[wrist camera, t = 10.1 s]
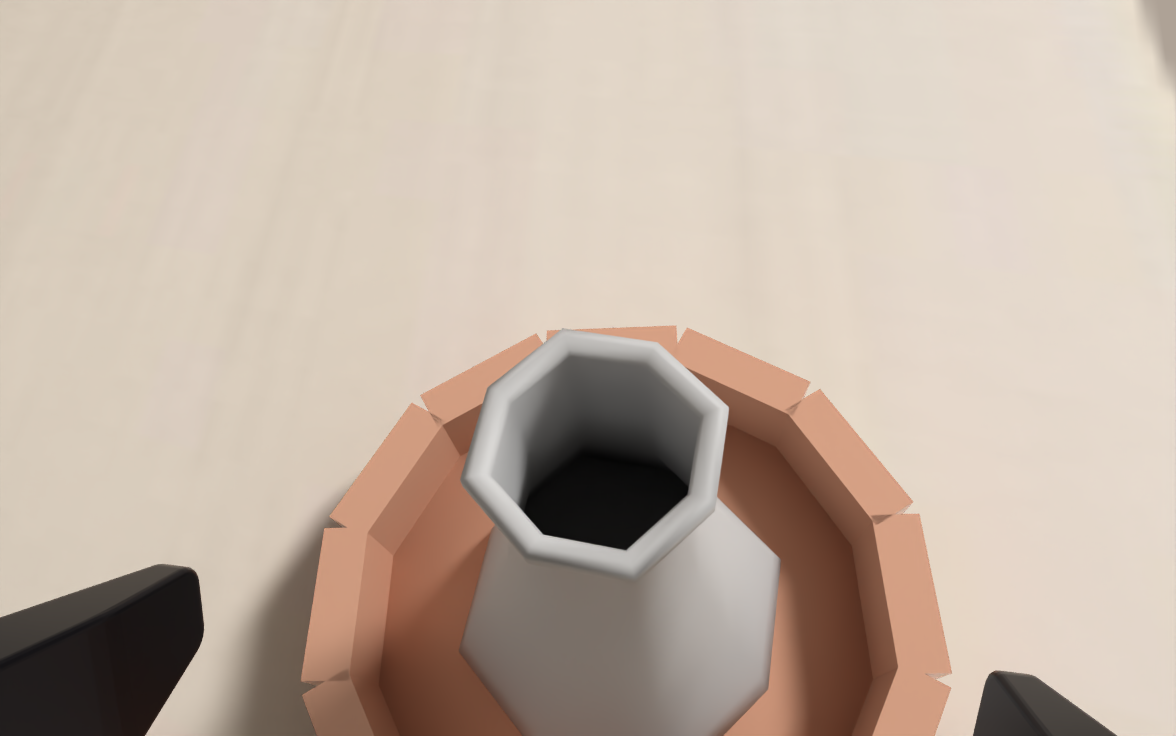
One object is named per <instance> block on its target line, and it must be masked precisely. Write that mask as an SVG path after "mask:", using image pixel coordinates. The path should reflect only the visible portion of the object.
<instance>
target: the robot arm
mask: <svg viewBox="0 0 1176 736" xmlns="http://www.w3.org/2000/svg"><path fill="white" fill-rule="evenodd" d="M203 633H204V621H203V612H202V603H201V594H200V585H199V579H198V576H197V574H196V572H195V571H194V570H193V569H191V568H189V567H183V566H175V565H168V564H158V565H154V566H151V567H148V568H145V569H142V570H139V571H136V572H133V573H130V574H127V575H125V576H122V577H119V578H116V579H113V580H110V581H107V582H104V583H101V584H98V585H95V586H92V587H89V588H86V589H83V590H80V591H77V592H74V593H71V594H68V595H65V596H62V597H60V598H57V599H54V600H51V601H48V602H45V603H42V604H39V605H36V606H33V607H30V608H27V609H24V610H21V611H18V612H15V613H12V614H9V615H6V616H3V617H0V736H145V735H146V733H147V732H148V730H149V728H150V727H151V725H152V723H153V722H154V720H155V719H156V717H157V715H158V714H159V712H160V711H161V709H162V707H163V706H164V704H165V702H166V701H167V699H168V698H169V696H170V694H171V693H172V691H173V689H174V688H175V686H176V685H177V683H178V681H179V680H180V678H181V677H182V675H183V673H184V672H185V670H186V668H187V667H188V665H189V664H190V662H191V660H192V659H193V657H194V655H195V654H196V652H197V651H198V649H199V647H200V644H201V642H202V638H203ZM973 736H1117V735H1116V734H1114V733H1113V732H1111V731H1110V730H1109V729H1107V728H1106V727H1105V726H1103V725H1102V724H1100V723H1099V722H1098V721H1096V720H1095V719H1093V718H1092V717H1091V716H1089V715H1088V714H1087V713H1085V712H1084V711H1082V710H1081V709H1080V708H1078V707H1077V706H1076V705H1074V704H1073V703H1071V702H1070V701H1069V700H1067V699H1066V698H1065V697H1063V696H1062V695H1060V694H1059V693H1058V692H1056V691H1055V690H1053V689H1052V688H1051V687H1049V686H1048V685H1047V684H1045V683H1044V682H1042V681H1041V680H1040V679H1038V678H1037V677H1035V676H1033V675H1029V674H1022V673H1014V672H1006V671H994V672H992V673H990V674H989V676H988V678H987V680H986V682H985V686H984V690H983V694H982V699H981V703H980V707H979V712H978V716H977V720H976V725H975V729H974V734H973Z"/></svg>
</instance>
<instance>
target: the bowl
mask: <svg viewBox="0 0 1176 736" xmlns="http://www.w3.org/2000/svg"><path fill="white" fill-rule="evenodd" d="M559 331H560V330H551V331H547V340H548V339H550V338H551V337H552V336H554V335H555V334H556V333H557V332H559ZM577 331H584V332H591V333H597V334H604V335H611V336H618V337H625V338H632V339H638V340H645V341H652V342H658V343H659V344H660V345H661V346H662V347H663V348H665V349H666V350H667V351H668V352H669V353H670V354H671V355H672V356H673V357H674V358H675V359H677V360H678V361H679V362H680V363H681V364H682V365H683V366H684V367H685V368H686V369H688V370H689V371H690V372H691V373H692V374H693V375H694V376H695V377H696V378H697V379H699V380H700V381H701V382H702V383H703V384H704V385H705V386H706V387H707V388H708V389H710V390H711V391H712V392H713V393H714V394H715V395H716V396H717V397H718V398H719V399H721V400H722V401H723V402H724V403H725V404H726V405H727V406H728V407H729V414H728V421H727V428H726V436H725V443H724V450H723V457H722V464H721V471H720V478H719V485H718V492H717V497H718V498H719V499H720V500H721V501H722V502H723V503H724V504H725V505H726V506H727V507H728V508H729V509H730V510H731V511H732V512H733V513H734V514H735V515H736V516H737V517H738V518H739V519H740V520H741V521H742V522H743V523H744V524H745V525H746V526H747V527H748V528H749V529H750V530H751V531H752V532H753V533H754V534H755V535H756V536H757V537H758V538H759V539H761V540H762V541H763V542H764V543H765V544H766V545H767V546H768V547H769V548H770V549H771V550H772V551H773V552H774V553H775V554H776V555H777V556H778V557H779V558H780V559H781V565H780V575H779V585H778V595H777V605H776V616H775V626H774V636H773V646H772V656H771V666H770V676H769V686H768V690H767V691H766V692H765V693H764V694H763V695H762V696H761V697H760V698H759V699H758V700H757V702H756V703H755V704H754V705H753V706H752V707H751V708H750V709H749V710H748V711H747V712H746V713H745V714H744V715H743V716H742V717H741V718H740V719H739V720H738V721H737V722H736V723H735V724H734V725H733V726H732V727H731V728H730V729H729V730H728V731H727V733H726V734H725V735H724V736H935V733H936V730H937V727H938V724H939V722H940V719H941V716H942V713H943V710H944V707H945V704H946V701H947V699H948V696H949V693H950V690H951V687H949V686H947V685H945V684H943V683H941V682H939V681H937V680H935V679H938V678H941V677H943V676H946V675H949V674H951V673H952V671H951V666H950V661H949V656H948V651H947V647H946V642H945V637H944V632H943V627H942V622H941V617H940V612H939V608H938V603H937V598H936V593H935V588H934V583H933V578H932V573H931V569H930V564H929V559H928V554H927V549H926V544H925V539H924V534H923V529H922V525H921V520H920V515H919V514H903V513H904V512H905V511H906V510H907V508H908V507H909V506H910V505H911V504H912V503H913V501H912V500H911V498H910V497H909V496H908V495H907V494H906V492H905V491H904V490H903V489H902V487H901V486H900V485H899V484H898V483H897V481H896V480H895V479H894V478H893V477H892V475H891V474H890V473H889V472H888V471H887V469H886V468H885V467H884V466H883V465H882V463H881V462H880V461H879V460H878V459H877V457H876V456H875V455H874V454H873V452H872V451H871V450H870V449H869V448H868V446H867V445H866V444H865V443H864V442H863V440H862V439H861V438H860V437H859V436H858V434H857V433H856V432H855V431H854V430H853V428H852V427H851V426H850V425H849V424H848V422H847V421H846V420H845V419H844V417H843V416H842V415H841V414H840V413H839V411H838V410H837V409H836V408H835V407H834V405H833V404H832V403H831V402H830V401H829V399H828V398H827V397H826V396H825V395H824V393H823V392H822V391H821V390H820V389H819V390H817V391H816V392H814V393H812V394H811V395H809V396H807V397H806V398H804V397H805V394H806V392H807V389H808V387H809V384H810V382H809V381H807V380H805V379H803V378H800V377H798V376H796V375H794V374H791V373H789V372H787V371H784V370H782V369H780V368H778V367H775V366H773V365H771V364H769V363H766V362H764V361H762V360H759V359H757V358H755V357H753V356H750V355H748V354H746V353H744V352H741V351H739V350H737V349H734V348H732V347H730V346H728V345H725V344H723V343H721V342H719V341H716V340H714V339H712V338H709V337H707V336H705V335H703V334H700V333H698V332H696V331H694V330H691V329H689V328H687V329H686V330H685V332H684V334H683V336H682V337H681V339H680V341H679V342H678V344H677V331H676V326H654V327H628V328H602V329H577ZM542 344H543V343H542V342H541V340H540V339H539V337H538V335H537V334H534V335H533V336H531V337H529V338H527V339H525V340H523V341H521V342H519V343H518V344H516V345H514V346H512V347H510V348H508V349H506V350H504V351H502V352H501V353H499V354H497V355H495V356H493V357H491V358H489V359H487V360H486V361H484V362H482V363H480V364H478V365H476V366H474V367H472V368H471V369H469V370H467V371H465V372H463V373H461V374H459V375H457V376H456V377H454V378H452V379H450V380H448V381H446V382H444V383H442V384H440V385H439V386H437V387H435V388H433V389H431V390H429V391H427V392H425V393H424V394H422V395H420V396H421V398H422V399H423V401H424V403H425V405H426V407H427V409H428V411H429V412H428V411H426V410H424V409H422V408H420V407H419V406H417V405H415V404H413V403H411V404H410V406H409V407H408V408H407V410H406V411H405V413H404V414H403V415H402V417H401V418H400V419H399V421H398V422H397V424H396V425H395V426H394V428H393V429H392V430H391V432H390V433H389V435H388V436H387V437H386V439H385V440H384V442H383V443H382V444H381V446H380V447H379V448H378V450H377V451H376V453H375V454H374V455H373V457H372V458H371V459H370V461H369V462H368V464H367V465H366V466H365V468H364V469H363V471H362V472H361V473H360V475H359V476H358V477H357V479H356V480H355V482H354V483H353V484H352V486H351V487H350V489H349V490H348V491H347V493H346V494H345V495H344V497H343V498H342V500H341V501H340V502H339V504H338V505H337V506H336V508H335V509H334V511H333V512H332V513H331V515H330V516H329V517H330V518H331V519H333V520H334V521H335V522H336V523H337V524H339V525H340V526H341V527H342V528H324V533H323V540H322V546H321V553H320V559H319V566H318V572H317V578H316V585H315V591H314V598H313V604H312V611H311V617H310V623H309V630H308V636H307V643H306V649H305V656H304V662H303V668H302V675H301V681H302V682H305V683H308V684H312V685H315V686H316V687H315V688H313V689H311V690H309V691H308V692H306V693H304V694H303V695H302V697H303V700H304V702H305V705H306V708H307V711H308V713H309V716H310V719H311V721H312V724H313V727H314V729H315V732H316V735H317V736H522V734H521V733H520V732H519V730H518V729H517V728H516V726H515V725H514V724H513V722H512V721H511V720H510V719H509V717H508V716H507V715H506V713H505V712H504V711H503V709H502V708H501V707H500V705H499V704H498V703H497V701H496V700H495V699H494V697H493V696H492V695H491V693H490V692H489V691H488V690H487V688H486V687H485V686H484V684H483V683H482V682H481V680H480V679H479V678H478V676H477V675H476V674H475V672H474V671H473V670H472V668H471V667H470V666H469V664H468V663H467V662H466V660H465V659H464V658H463V657H462V655H461V654H460V653H459V648H460V644H461V640H462V636H463V633H464V629H465V625H466V622H467V618H468V614H469V610H470V607H471V603H472V599H473V596H474V592H475V588H476V585H477V581H478V577H479V573H480V570H481V566H482V562H483V559H484V555H485V551H486V547H487V544H488V540H489V536H490V533H491V529H492V528H493V527H494V525H495V524H494V523H493V522H492V521H491V519H490V518H489V517H488V516H487V515H486V514H485V512H484V511H483V510H482V509H481V508H480V506H479V505H478V504H477V503H476V502H475V501H474V499H473V498H472V497H471V496H470V495H469V494H468V492H467V491H466V490H465V489H464V488H463V486H462V484H461V482H460V478H461V475H462V471H463V468H464V465H465V461H466V458H467V455H468V451H469V448H470V444H471V441H472V438H473V434H474V431H475V428H476V424H477V421H478V417H479V414H480V411H481V407H482V404H483V401H484V397H485V394H486V390H487V387H489V386H490V385H491V384H492V383H494V382H495V381H496V380H497V379H499V378H500V377H501V376H503V375H504V374H505V373H506V372H508V371H509V370H510V369H512V368H513V367H514V366H515V365H517V364H518V363H519V362H520V361H522V360H523V359H524V358H526V357H527V356H528V355H529V354H531V353H532V352H533V351H534V350H536V349H537V348H538V347H540V346H541V345H542Z"/></svg>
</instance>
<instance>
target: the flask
mask: <svg viewBox="0 0 1176 736" xmlns="http://www.w3.org/2000/svg"><path fill="white" fill-rule="evenodd" d="M728 414H729V407H728V406H727V405H726V404H725V403H724V402H723V401H722V400H721V399H719V398H718V397H717V396H716V395H715V394H714V393H713V392H712V391H711V390H710V389H708V388H707V387H706V386H705V385H704V384H703V383H702V382H701V381H700V380H699V379H697V378H696V377H695V376H694V375H693V374H692V373H691V372H690V371H689V370H688V369H686V368H685V367H684V366H683V365H682V364H681V363H680V362H679V361H678V360H677V359H675V358H674V357H673V356H672V355H671V354H670V353H669V352H668V351H667V350H666V349H665V348H663V347H662V346H661V345H660V344H659V343H658V342H652V341H645V340H638V339H632V338H625V337H618V336H611V335H604V334H597V333H591V332H584V331H577V330H570V329H561V330H560V331H559V332H557V333H556V334H555V335H554V336H552V337H551V338H550V339H548V340H547V341H546V342H545V343H543V344H542V345H541V346H540V347H538V348H537V349H536V350H534V351H533V352H532V353H531V354H529V355H528V356H527V357H526V358H524V359H523V360H522V361H520V362H519V363H518V364H517V365H515V366H514V367H513V368H512V369H510V370H509V371H508V372H506V373H505V374H504V375H503V376H501V377H500V378H499V379H497V380H496V381H495V382H494V383H492V384H491V385H490V386H489V387H487V390H486V394H485V397H484V401H483V404H482V407H481V411H480V414H479V417H478V421H477V424H476V428H475V431H474V434H473V438H472V441H471V444H470V448H469V451H468V455H467V458H466V461H465V465H464V468H463V471H462V475H461V478H460V482H461V484H462V486H463V488H464V489H465V490H466V491H467V492H468V494H469V495H470V496H471V497H472V498H473V499H474V501H475V502H476V503H477V504H478V505H479V506H480V508H481V509H482V510H483V511H484V512H485V514H486V515H487V516H488V517H489V518H490V519H491V521H492V522H493V523H494V524H495V525H494V527H493V528H492V529H491V533H490V536H489V540H488V544H487V547H486V551H485V555H484V559H483V562H482V566H481V570H480V573H479V577H478V581H477V585H476V588H475V592H474V596H473V599H472V603H471V607H470V610H469V614H468V618H467V622H466V625H465V629H464V633H463V636H462V640H461V644H460V648H459V653H460V654H461V655H462V657H463V658H464V659H465V660H466V662H467V663H468V664H469V666H470V667H471V668H472V670H473V671H474V672H475V674H476V675H477V676H478V678H479V679H480V680H481V682H482V683H483V684H484V686H485V687H486V688H487V690H488V691H489V692H490V693H491V695H492V696H493V697H494V699H495V700H496V701H497V703H498V704H499V705H500V707H501V708H502V709H503V711H504V712H505V713H506V715H507V716H508V717H509V719H510V720H511V721H512V722H513V724H514V725H515V726H516V728H517V729H518V730H519V732H520V733H521V734H522V736H724V735H725V734H726V733H727V731H728V730H729V729H730V728H731V727H732V726H733V725H734V724H735V723H736V722H737V721H738V720H739V719H740V718H741V717H742V716H743V715H744V714H745V713H746V712H747V711H748V710H749V709H750V708H751V707H752V706H753V705H754V704H755V703H756V702H757V700H758V699H759V698H760V697H761V696H762V695H763V694H764V693H765V692H766V691H767V690H768V686H769V676H770V666H771V656H772V646H773V636H774V626H775V616H776V605H777V595H778V585H779V575H780V565H781V559H780V558H779V557H778V556H777V555H776V554H775V553H774V552H773V551H772V550H771V549H770V548H769V547H768V546H767V545H766V544H765V543H764V542H763V541H762V540H761V539H759V538H758V537H757V536H756V535H755V534H754V533H753V532H752V531H751V530H750V529H749V528H748V527H747V526H746V525H745V524H744V523H743V522H742V521H741V520H740V519H739V518H738V517H737V516H736V515H735V514H734V513H733V512H732V511H731V510H730V509H729V508H728V507H727V506H726V505H725V504H724V503H723V502H722V501H721V500H720V499H719V498H718V497H717V492H718V485H719V478H720V471H721V464H722V457H723V450H724V443H725V436H726V428H727V421H728Z"/></svg>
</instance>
